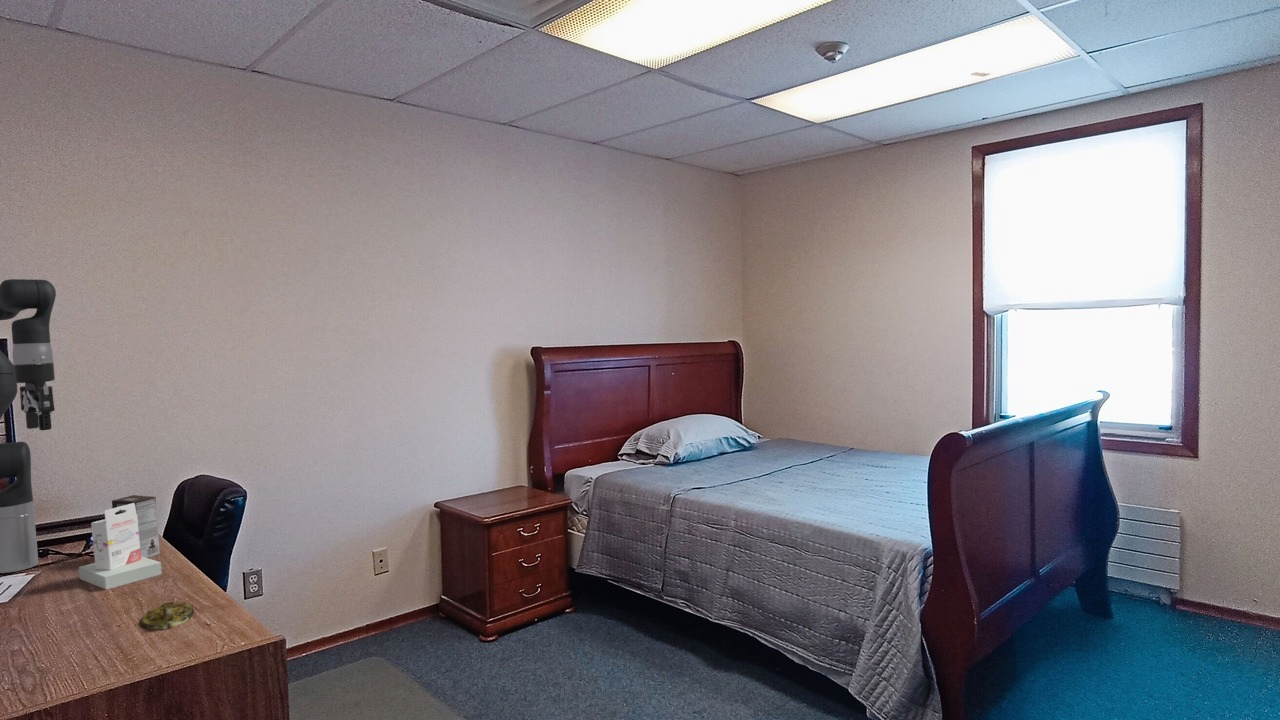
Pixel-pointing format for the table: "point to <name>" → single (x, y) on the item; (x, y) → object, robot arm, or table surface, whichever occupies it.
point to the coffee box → (143, 522)
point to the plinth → (120, 573)
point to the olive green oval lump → (167, 615)
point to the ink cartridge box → (116, 538)
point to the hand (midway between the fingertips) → (39, 429)
